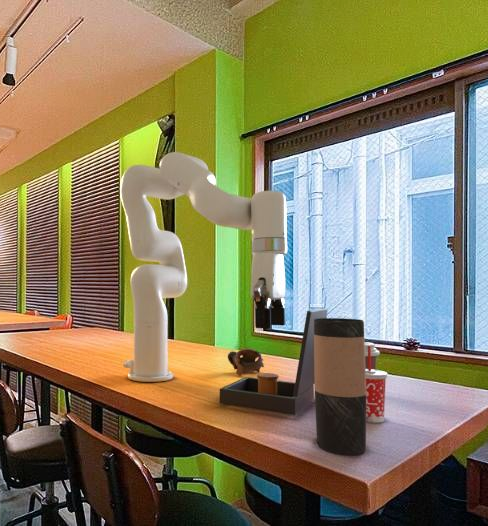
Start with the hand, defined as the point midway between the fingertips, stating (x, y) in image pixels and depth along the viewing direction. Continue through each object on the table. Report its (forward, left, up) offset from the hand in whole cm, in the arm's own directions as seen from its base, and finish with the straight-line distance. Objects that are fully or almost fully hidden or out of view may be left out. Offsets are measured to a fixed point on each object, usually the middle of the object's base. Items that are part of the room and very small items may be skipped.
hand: (270, 326), depth 95 cm
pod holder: (-1, 0, -17) cm, 17 cm away
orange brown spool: (-1, 0, -16) cm, 16 cm away
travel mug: (+17, -18, -17) cm, 30 cm away
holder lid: (+8, 0, -4) cm, 9 cm away
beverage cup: (+19, +1, -17) cm, 26 cm away
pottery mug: (-18, +30, -17) cm, 38 cm away
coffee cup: (+14, +22, -17) cm, 31 cm away
